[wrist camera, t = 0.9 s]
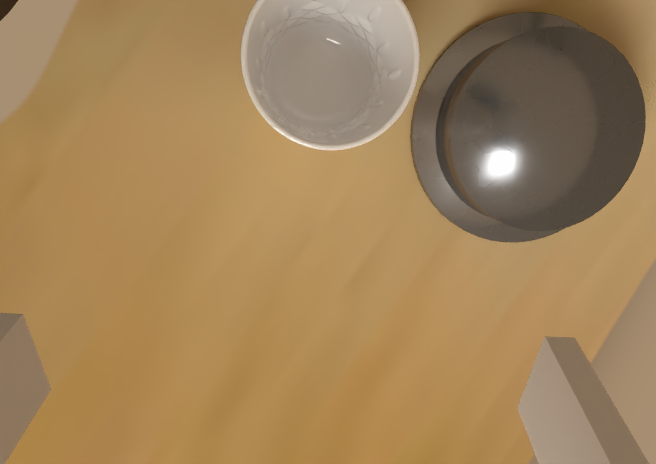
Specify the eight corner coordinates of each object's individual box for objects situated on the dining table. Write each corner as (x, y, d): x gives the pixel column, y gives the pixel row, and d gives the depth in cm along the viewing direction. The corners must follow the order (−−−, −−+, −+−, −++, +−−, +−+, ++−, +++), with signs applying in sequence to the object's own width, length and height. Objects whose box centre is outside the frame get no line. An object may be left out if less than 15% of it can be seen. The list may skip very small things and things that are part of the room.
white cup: (233, 43, 30) (210, 0, 20) (351, -4, 30) (385, -69, 20) (282, 162, 32) (282, 176, 22) (393, 117, 32) (443, 112, 22)
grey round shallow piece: (369, 94, 31) (381, 89, 27) (567, -33, 31) (609, -56, 27) (474, 279, 35) (499, 298, 31) (655, 167, 34) (703, 172, 30)
